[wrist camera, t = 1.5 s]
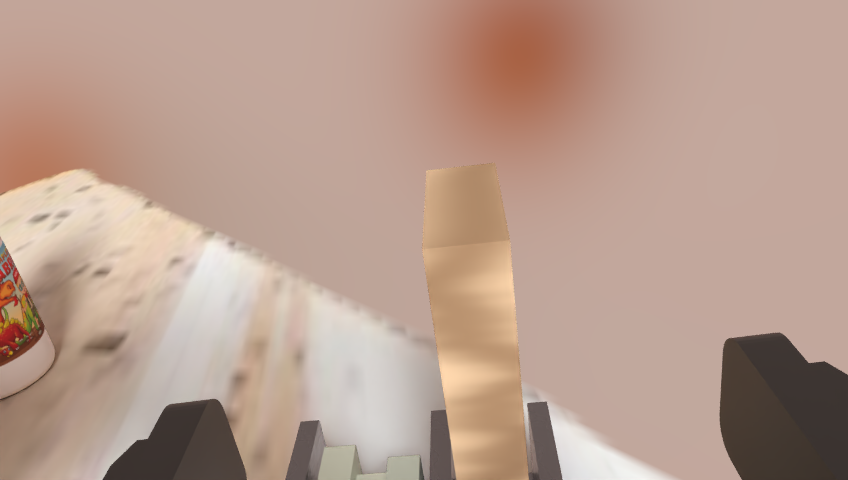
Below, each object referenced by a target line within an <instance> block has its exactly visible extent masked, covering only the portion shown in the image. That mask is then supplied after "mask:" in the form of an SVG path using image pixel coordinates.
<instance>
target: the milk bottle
mask: <svg viewBox="0 0 848 480" xmlns="http://www.w3.org/2000/svg"><path fill="white" fill-rule="evenodd" d="M54 358H55V348H54V346H53V344H52V341H51V339H50V337H49V335H48V333H47V330H46V328H45V326H44V324H43V322H42V320H41V318H40V316H39V314H38V311H37V309H36V307H35V305H34V303H33V301H32V299H31V297H30V295H29V293H28V291H27V288H26V286H25V284H24V282H23V280H22V278H21V276H20V274H19V272H18V270H17V268H16V266H15V264H14V262H13V260H12V258H11V256H10V254H9V252H8V250H7V248H6V246H5V244H4V243H3V241H2V239H1V237H0V399H3V398H5V397H8V396H10V395H13V394H15V393H17V392H19V391H21V390H23V389H24V388H26V387H28V386H30V385H31V384H32V383H34V382H35V381H37V380H38V379H39V378H40V377H41V376H43V375H44V374H45V373H46V372H47V371H48V369H49V368H50V367H51V365H52V364H53V361H54Z"/></svg>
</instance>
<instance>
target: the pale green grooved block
mask: <svg viewBox="0 0 848 480" xmlns="http://www.w3.org/2000/svg"><path fill="white" fill-rule="evenodd" d="M318 480H424V475H423V470H422V464H421V459H420V455H411V456H398V457H388V461H387V472H386V473H373V474H362V470H361V466H360V461H359V457H358V453H357V449H356V445H348V446H335V447H324V451H323V456H322V461H321V466H320V470H319V475H318Z"/></svg>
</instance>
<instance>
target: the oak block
mask: <svg viewBox="0 0 848 480" xmlns="http://www.w3.org/2000/svg"><path fill="white" fill-rule="evenodd" d="M424 209H425V210H424V226H423V243H422V251H423V258H424V265H425V271H426V278H427V284H428V291H429V298H430V305H431V312H432V319H433V325H434V332H435V339H436V346H437V352H438V359H439V366H440V372H441V379H442V386H443V393H444V399H445V406H446V413H447V419H448V426H449V433H450V440H451V446H452V453H453V460H454V467H455V473H456V480H529V476H528V463H527V450H526V438H525V425H524V412H523V400H522V387H521V375H520V362H519V349H518V337H517V323H516V311H515V298H514V286H513V273H512V261H511V248H510V238H509V233H508V228H507V222H506V218H505V212H504V207H503V202H502V196H501V191H500V186H499V181H498V176H497V170H496V165H495V163H489V164H481V165H472V166H463V167H454V168H445V169H436V170H427V172H426V190H425V208H424Z"/></svg>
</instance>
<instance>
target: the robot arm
mask: <svg viewBox="0 0 848 480" xmlns="http://www.w3.org/2000/svg"><path fill="white" fill-rule="evenodd" d="M720 427H721V433H722V437H723V441H724V445H725V448H726V450H727V452H728V455H729V457H730V459H731V461H732V463H733V465H734V466H735V468H736V470H737V472H738V474H739V475H740V477H741V479H742V480H848V375H847V374H845V373H843V372H842V371H840V370H838V369H836V368H835V367H833V366H832V365H830V364H828V363H826V362H816V363H808V362H807V361H806V360H805V358H804V357H803V356H802V355H801V354H800V353H799V351H798V350H797V349H796V348H795V347H794V346H793V344H792V343H791V342H790V341H789V340H788V339H787V337H786V336H784V335H783V334H781V333H770V334H761V335H753V336H745V337H737V338H729V339H727V340H726V341H725V344H724V348H723V361H722V380H721V400H720ZM103 480H247V477H246V472H245V468H244V465H243V462H242V459H241V456H240V454H239V451H238V448H237V445H236V442H235V440H234V437H233V434H232V431H231V428H230V426H229V423H228V420H227V417H226V414H225V412H224V409H223V407H222V405H221V403H220V402H219V401H218V400H216V399H210V400H201V401H193V402H185V403H176V404H170V405H168V406H167V407H166V408H165V409H164V410H163V412H162V414H161V415H160V417H159V419H158V421H157V423H156V425H155V427H154V429H153V430H152V432H151V434H150V436H149V438H148V439H144V440H137V441H136V442H135V443H134V444H133V445H132V446H131V447H130V448H129V449H128V450H127V451H126V452H124V453H123V454H122V455H121V456H120V457H119V458H118V459H117V460H116V461H115V462H114V463H113V464H112V465H111V466H110V468H109V470H108V471H107V473H106V475H105V477H104V478H103Z"/></svg>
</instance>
